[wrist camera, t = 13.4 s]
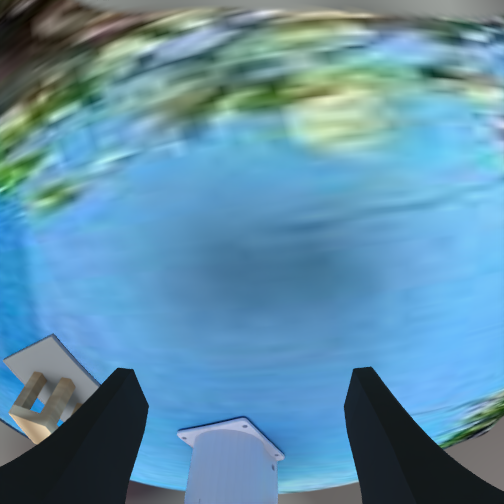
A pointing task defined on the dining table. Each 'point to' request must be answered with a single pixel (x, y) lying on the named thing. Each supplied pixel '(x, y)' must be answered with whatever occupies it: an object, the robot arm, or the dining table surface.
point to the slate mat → (53, 371)
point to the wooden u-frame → (46, 421)
